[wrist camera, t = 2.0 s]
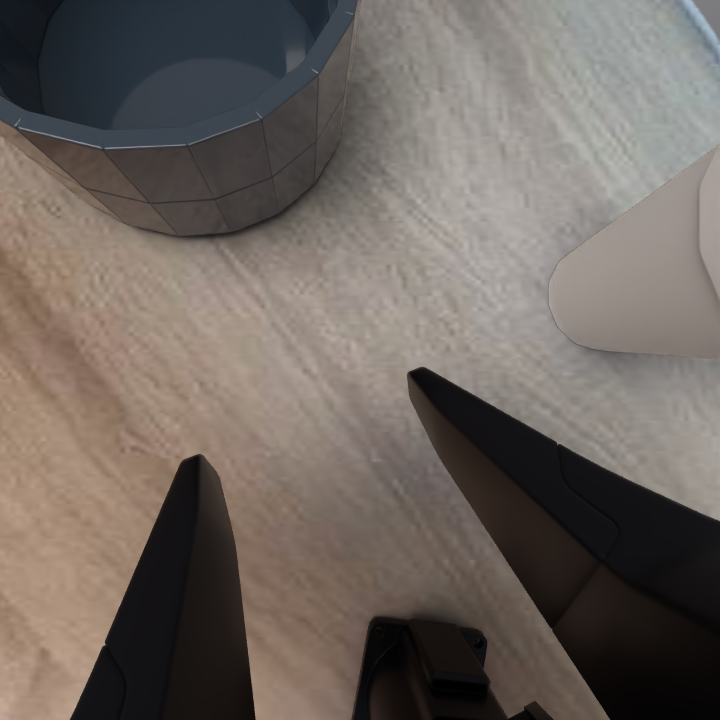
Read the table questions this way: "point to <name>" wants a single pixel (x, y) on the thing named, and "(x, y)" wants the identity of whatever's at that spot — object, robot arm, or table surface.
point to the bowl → (178, 102)
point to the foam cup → (649, 273)
